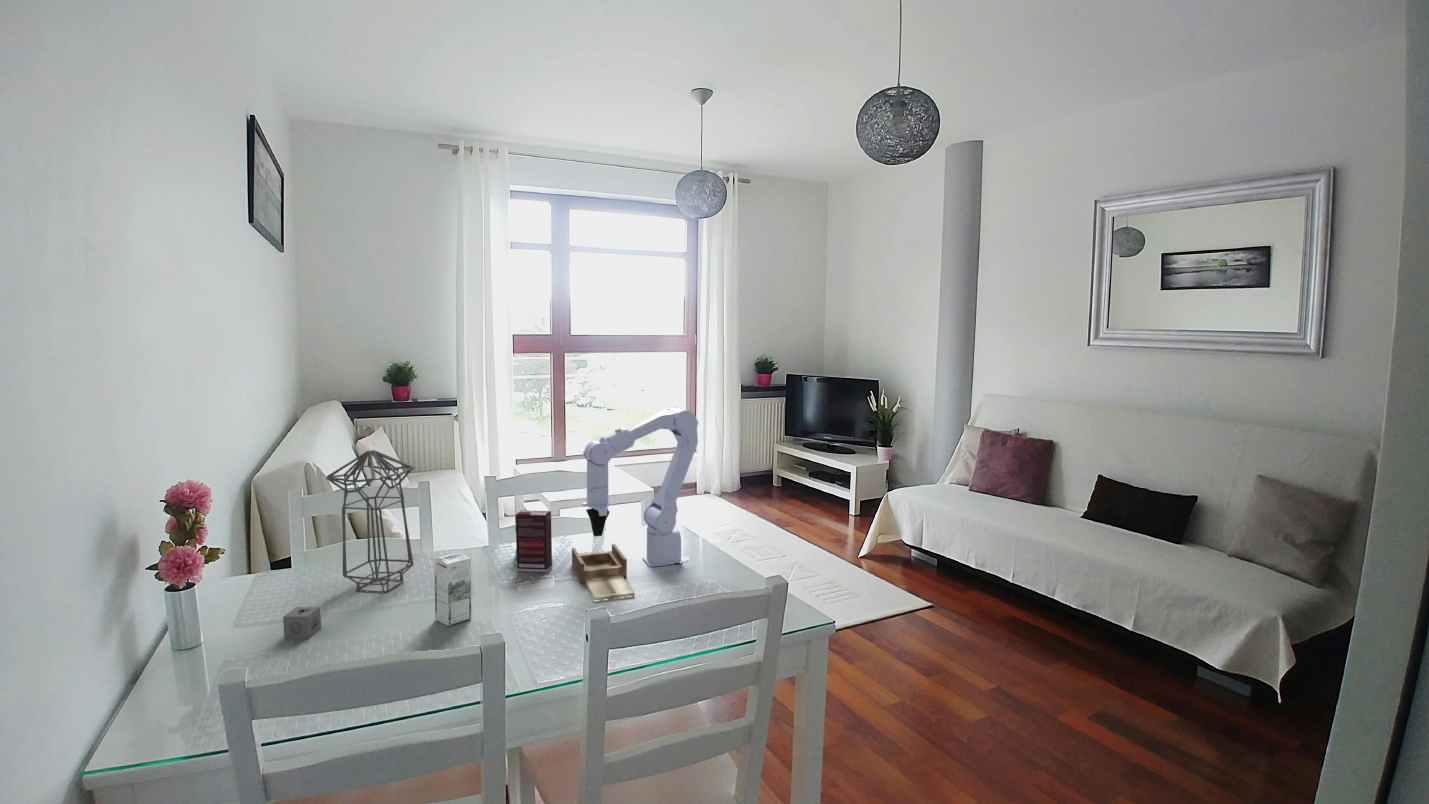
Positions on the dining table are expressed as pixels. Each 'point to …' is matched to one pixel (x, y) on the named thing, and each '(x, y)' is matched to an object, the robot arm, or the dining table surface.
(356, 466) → the geometric lantern
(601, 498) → the robot arm
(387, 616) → the dining table surface
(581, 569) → the box
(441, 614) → the syrup box
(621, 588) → the lid
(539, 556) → the supplement box
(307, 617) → the dice cube
